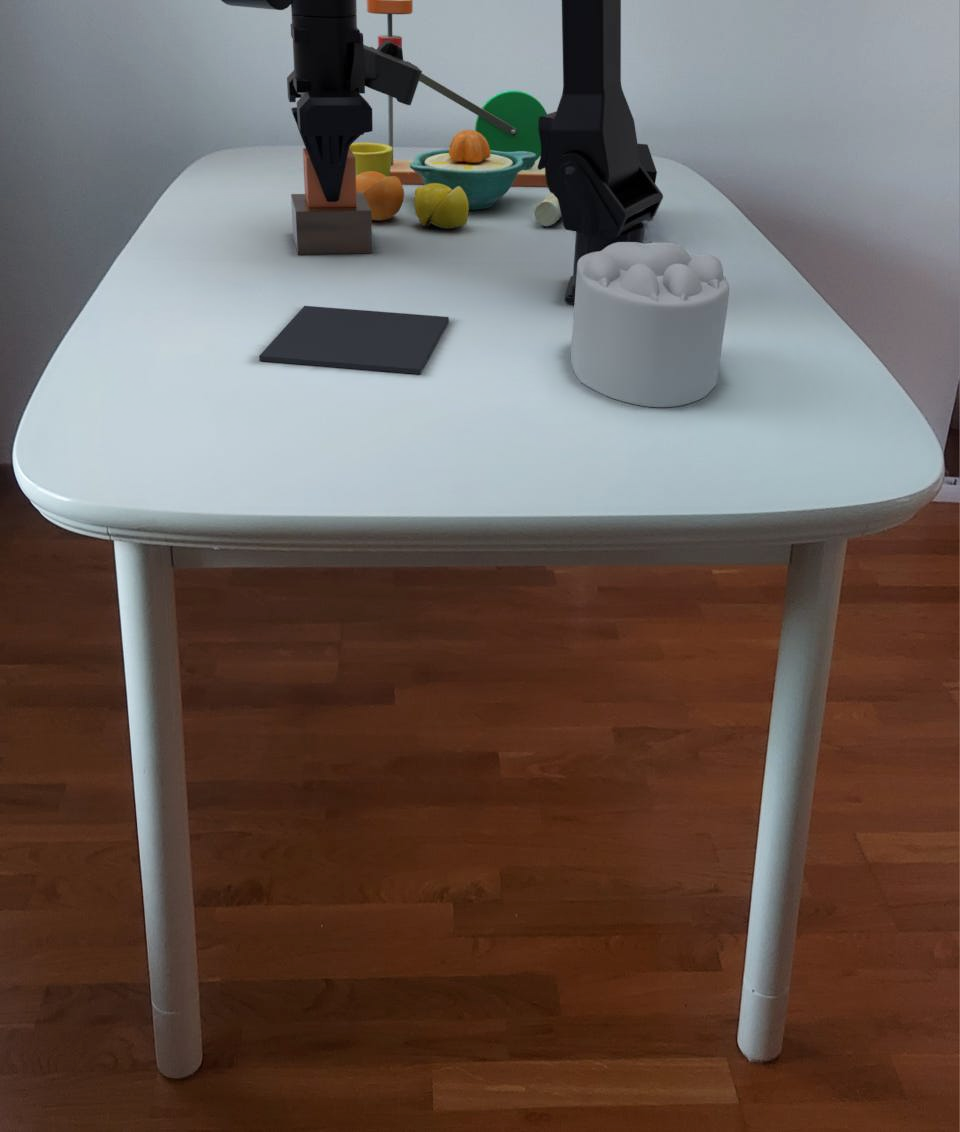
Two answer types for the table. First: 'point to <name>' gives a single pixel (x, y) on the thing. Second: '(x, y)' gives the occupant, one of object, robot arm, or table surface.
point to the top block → (314, 188)
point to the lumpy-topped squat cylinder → (649, 323)
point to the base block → (331, 227)
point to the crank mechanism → (499, 120)
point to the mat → (357, 339)
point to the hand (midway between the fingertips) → (330, 195)
